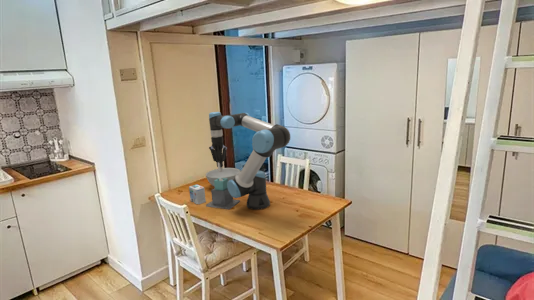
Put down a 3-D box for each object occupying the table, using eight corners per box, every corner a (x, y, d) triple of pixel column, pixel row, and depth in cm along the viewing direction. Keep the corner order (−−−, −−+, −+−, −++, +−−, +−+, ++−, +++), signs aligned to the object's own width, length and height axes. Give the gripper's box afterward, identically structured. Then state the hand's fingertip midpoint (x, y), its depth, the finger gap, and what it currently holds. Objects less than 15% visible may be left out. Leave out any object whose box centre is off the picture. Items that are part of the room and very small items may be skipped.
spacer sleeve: (228, 187, 222) (227, 178, 221) (223, 190, 216) (222, 181, 215) (220, 186, 225) (219, 177, 223) (214, 189, 219) (214, 180, 218)
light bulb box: (190, 201, 233) (188, 186, 230) (198, 198, 237) (197, 184, 234) (197, 204, 225) (195, 189, 222) (206, 202, 229) (204, 187, 226)
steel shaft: (225, 201, 223) (223, 178, 220) (223, 202, 221) (221, 179, 218) (222, 200, 224) (220, 178, 221) (220, 202, 222) (218, 179, 219)
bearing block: (240, 201, 225) (238, 186, 223) (229, 209, 213) (227, 193, 211) (217, 199, 233) (216, 183, 231) (206, 206, 221) (204, 190, 218)
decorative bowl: (203, 186, 264) (201, 171, 261) (235, 180, 274) (233, 166, 272) (212, 196, 240) (211, 180, 237) (247, 189, 250) (245, 173, 248)
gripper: (205, 137, 212) (209, 172, 217) (222, 137, 207) (225, 173, 212) (211, 135, 219) (215, 169, 224) (228, 135, 213) (232, 170, 218)
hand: (220, 171), depth 218 cm, fingers closed
